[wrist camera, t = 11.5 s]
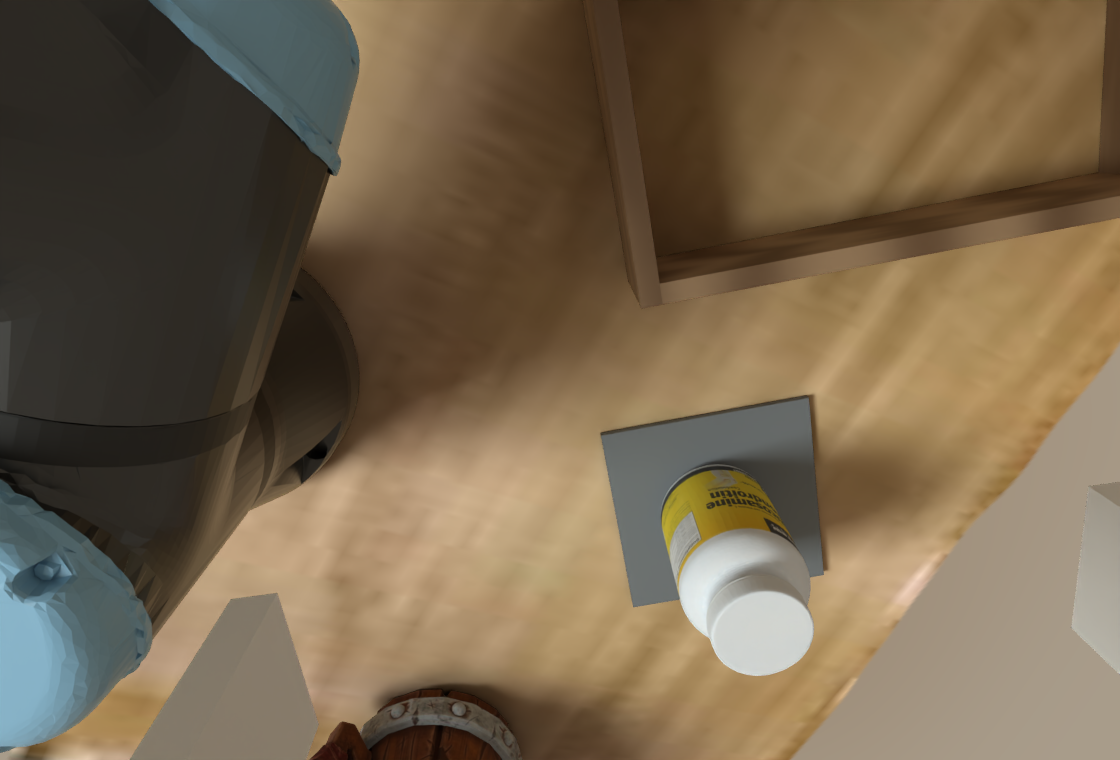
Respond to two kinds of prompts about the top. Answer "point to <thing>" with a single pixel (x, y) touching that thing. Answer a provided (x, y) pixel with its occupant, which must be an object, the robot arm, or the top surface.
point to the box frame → (845, 242)
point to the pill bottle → (737, 569)
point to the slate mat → (688, 443)
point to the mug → (426, 731)
